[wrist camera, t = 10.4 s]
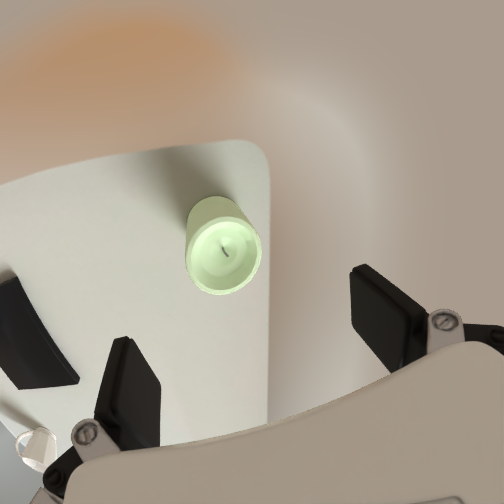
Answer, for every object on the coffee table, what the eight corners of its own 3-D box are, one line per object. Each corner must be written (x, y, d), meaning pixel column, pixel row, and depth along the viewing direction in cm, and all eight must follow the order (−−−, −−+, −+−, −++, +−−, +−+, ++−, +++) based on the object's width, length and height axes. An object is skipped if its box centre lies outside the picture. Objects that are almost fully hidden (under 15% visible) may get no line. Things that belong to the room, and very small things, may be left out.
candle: (220, 183, 23) (234, 203, 16) (254, 227, 25) (282, 264, 18) (175, 220, 24) (167, 257, 16) (211, 261, 26) (220, 310, 18)
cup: (69, 446, 33) (63, 480, 26) (29, 436, 31) (21, 466, 23) (54, 426, 30) (45, 463, 23) (13, 415, 28) (2, 447, 21)
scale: (-38, 297, 20) (-49, 308, 17) (15, 272, 21) (2, 285, 19) (19, 384, 26) (13, 398, 23) (80, 377, 28) (74, 394, 25)
